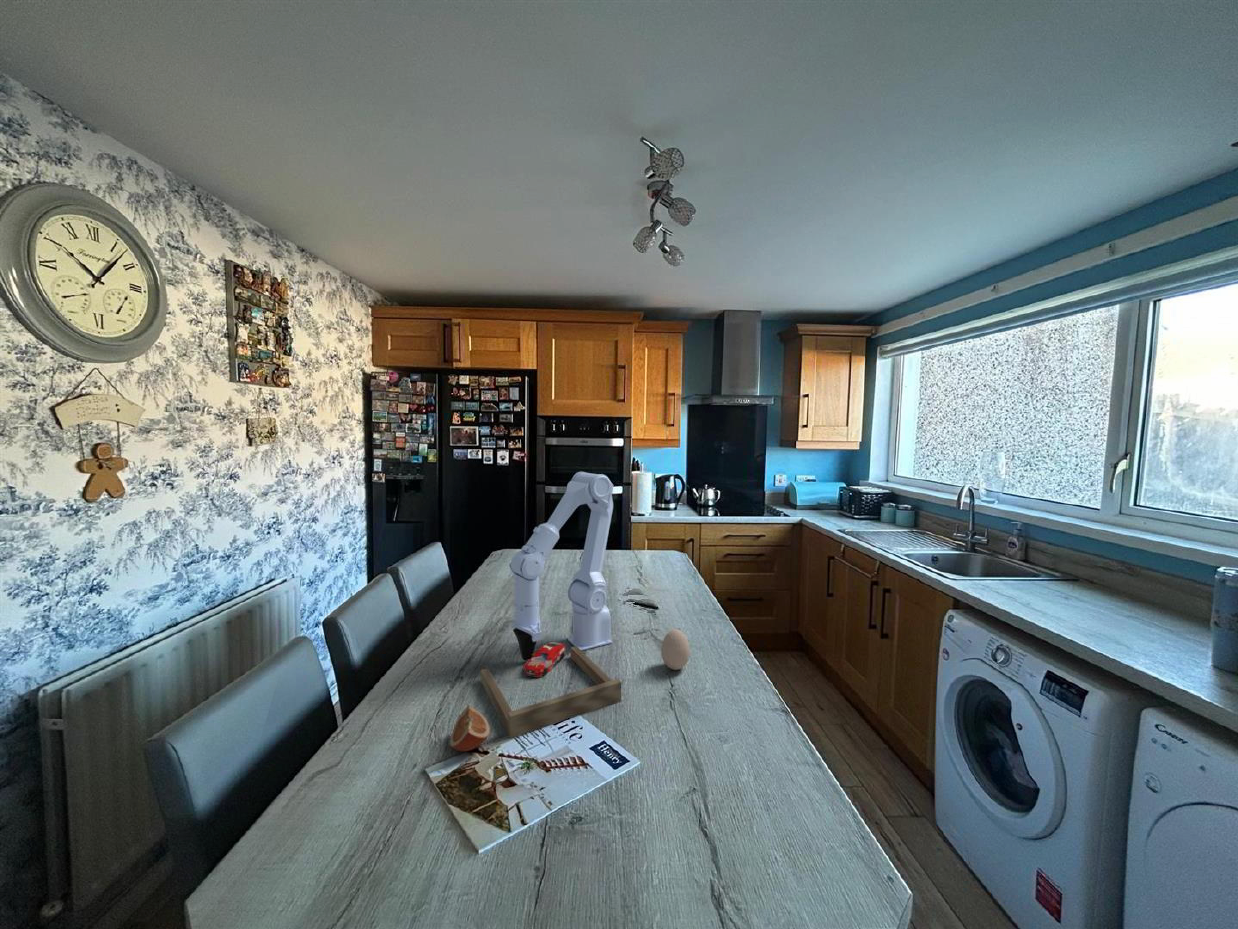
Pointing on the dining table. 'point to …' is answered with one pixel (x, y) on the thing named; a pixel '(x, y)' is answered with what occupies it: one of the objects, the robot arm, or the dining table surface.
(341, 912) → the dining table surface
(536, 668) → the race car
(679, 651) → the egg
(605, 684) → the garage bay
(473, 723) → the fruit slice
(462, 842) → the dining table surface
